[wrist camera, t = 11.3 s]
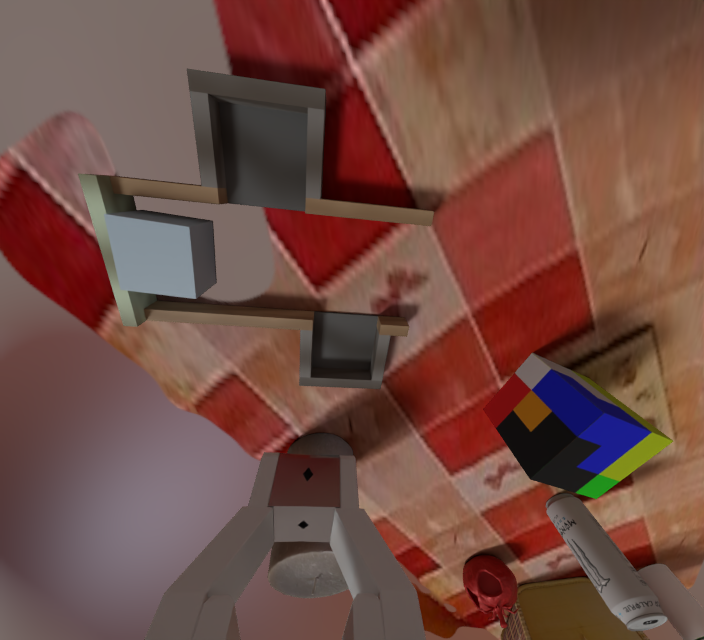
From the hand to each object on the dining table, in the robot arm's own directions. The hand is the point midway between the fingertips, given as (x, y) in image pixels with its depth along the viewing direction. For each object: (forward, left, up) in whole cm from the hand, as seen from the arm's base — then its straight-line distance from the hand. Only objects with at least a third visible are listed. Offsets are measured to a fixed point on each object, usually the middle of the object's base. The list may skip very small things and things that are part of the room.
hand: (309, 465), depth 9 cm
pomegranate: (+59, +36, -21) cm, 72 cm away
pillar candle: (+27, +1, -21) cm, 34 cm away
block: (-2, -14, -21) cm, 25 cm away
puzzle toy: (+14, +29, -21) cm, 38 cm away
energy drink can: (+38, +44, -21) cm, 61 cm away
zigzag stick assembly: (-1, -4, -21) cm, 21 cm away
